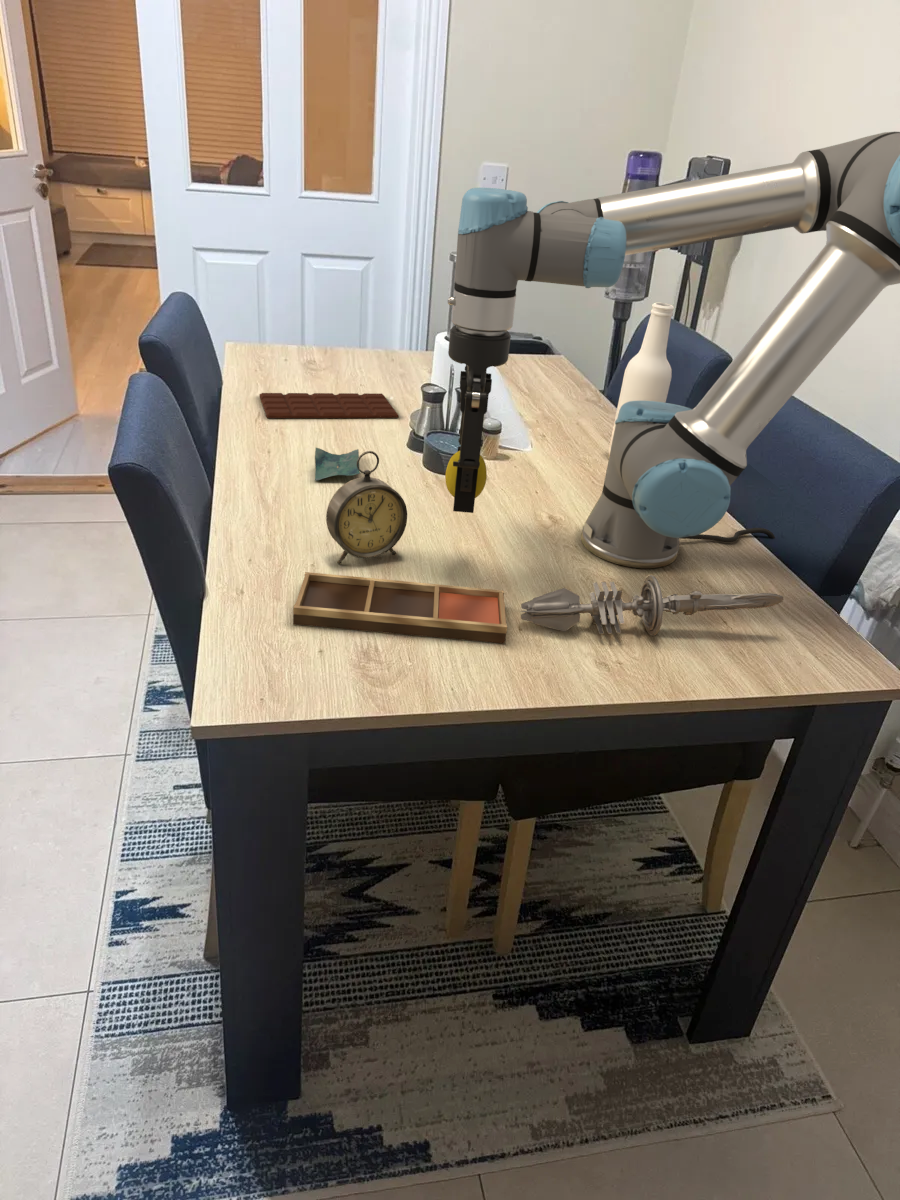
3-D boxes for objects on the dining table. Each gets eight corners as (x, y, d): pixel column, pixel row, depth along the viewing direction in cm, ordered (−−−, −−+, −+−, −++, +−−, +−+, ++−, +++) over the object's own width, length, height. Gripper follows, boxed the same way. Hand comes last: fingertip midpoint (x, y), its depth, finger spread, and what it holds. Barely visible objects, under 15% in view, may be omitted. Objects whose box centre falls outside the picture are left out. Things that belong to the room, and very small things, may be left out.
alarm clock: (334, 570, 118) (338, 461, 110) (321, 553, 122) (323, 447, 114) (405, 560, 123) (414, 454, 115) (390, 543, 127) (397, 440, 119)
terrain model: (360, 483, 145) (360, 473, 144) (314, 483, 144) (313, 472, 143) (358, 456, 156) (358, 446, 155) (315, 455, 155) (315, 446, 154)
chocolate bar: (383, 397, 188) (383, 392, 187) (398, 417, 177) (398, 413, 176) (259, 396, 179) (259, 392, 179) (267, 418, 168) (267, 413, 168)
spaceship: (803, 605, 106) (783, 556, 111) (528, 618, 104) (520, 568, 109) (781, 640, 113) (764, 593, 118) (522, 654, 110) (514, 605, 115)
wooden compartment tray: (501, 606, 114) (504, 590, 113) (504, 643, 106) (507, 627, 105) (304, 588, 113) (305, 571, 112) (293, 624, 105) (293, 607, 104)
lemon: (479, 514, 113) (486, 458, 109) (439, 507, 114) (444, 451, 110) (486, 498, 118) (492, 444, 114) (447, 492, 118) (452, 437, 114)
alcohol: (603, 461, 167) (635, 304, 152) (612, 448, 174) (644, 296, 159) (647, 471, 164) (684, 312, 149) (654, 457, 172) (691, 305, 156)
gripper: (451, 309, 112) (438, 473, 124) (449, 343, 96) (433, 528, 108) (508, 314, 112) (489, 477, 124) (515, 349, 96) (492, 533, 108)
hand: (463, 501), depth 116 cm, fingers closed on lemon, 5 cm apart
